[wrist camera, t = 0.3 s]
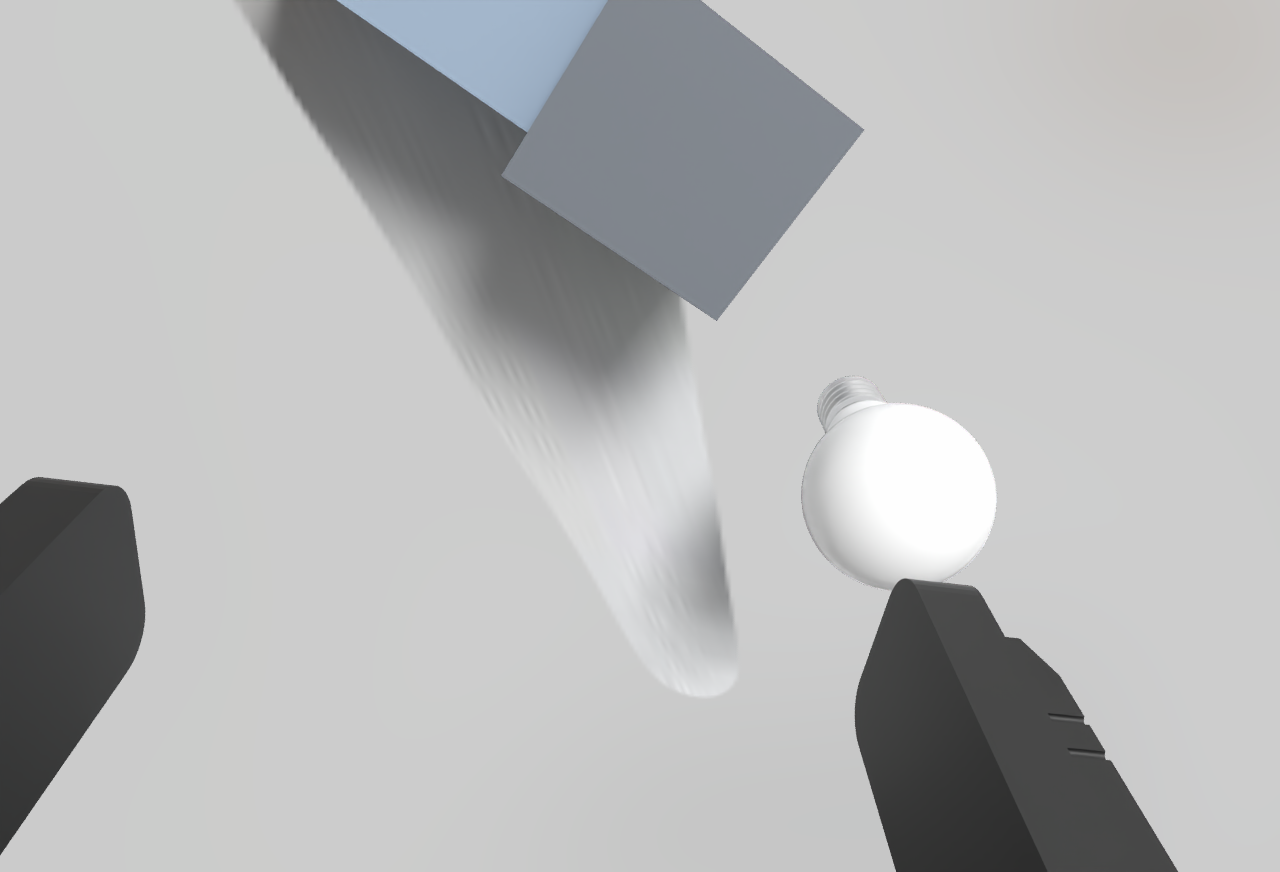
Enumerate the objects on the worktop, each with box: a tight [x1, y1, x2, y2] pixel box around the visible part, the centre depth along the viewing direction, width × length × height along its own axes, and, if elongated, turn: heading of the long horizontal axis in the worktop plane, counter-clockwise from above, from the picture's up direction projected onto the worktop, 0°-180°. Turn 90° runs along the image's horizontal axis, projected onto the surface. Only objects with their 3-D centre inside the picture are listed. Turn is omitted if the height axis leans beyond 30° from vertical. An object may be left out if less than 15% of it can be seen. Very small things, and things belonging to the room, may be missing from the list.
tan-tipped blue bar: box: [337, 0, 608, 132], centre depth 28 cm, size 16×5×6 cm, turn 55°
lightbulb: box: [801, 376, 997, 591], centre depth 32 cm, size 6×6×11 cm
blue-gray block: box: [501, 0, 864, 321], centre depth 29 cm, size 8×7×8 cm
